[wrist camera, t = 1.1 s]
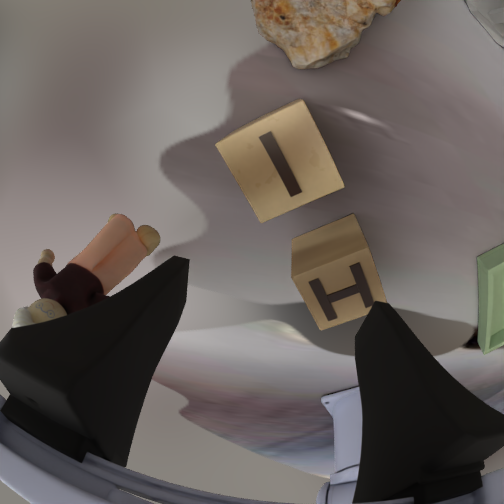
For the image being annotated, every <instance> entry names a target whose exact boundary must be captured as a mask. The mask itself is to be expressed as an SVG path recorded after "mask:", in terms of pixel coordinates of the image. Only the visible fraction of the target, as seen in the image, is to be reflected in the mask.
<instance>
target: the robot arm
mask: <svg viewBox="0 0 504 504" xmlns="http://www.w3.org/2000/svg"><path fill="white" fill-rule="evenodd" d="M189 261H190V259H186V258H182V257H178V256H173V257H171V258H170V259H168V260H167V261H165V262H164V263H162V264H161V265H160V266H158V267H157V268H155V269H154V270H152V271H151V272H150V273H148V274H147V275H145V276H144V277H142V278H141V279H139V280H138V281H136V282H135V283H133V284H131V285H130V286H128V287H126V288H125V289H123V290H121V291H120V292H118V293H116V294H114V295H112V296H111V297H109V298H107V299H105V300H102V301H100V302H98V303H96V304H94V305H92V306H89V307H87V308H84V309H82V310H79V311H76V312H74V313H71V314H69V315H66V316H62V317H59V318H56V319H52V320H49V321H45V322H41V323H37V324H31V325H26V326H21V327H15V328H11V329H10V331H9V332H8V333H7V334H6V336H5V337H4V338H3V339H2V340H1V342H0V380H1V382H2V383H3V384H4V386H5V387H6V388H7V390H8V391H9V393H10V395H9V397H8V399H7V400H6V399H5V398H4V397H2V396H1V395H0V480H1V481H2V482H3V483H5V484H6V485H7V486H8V487H10V488H11V489H12V490H13V491H15V492H16V493H17V494H19V495H20V496H21V497H23V498H24V499H26V500H27V501H28V502H30V503H31V504H154V503H151V502H149V501H146V500H143V499H141V498H139V497H136V496H134V495H137V496H140V497H143V498H146V499H149V500H152V501H155V502H158V503H162V504H292V503H278V502H268V501H258V500H250V499H244V498H237V497H231V496H225V495H220V494H214V493H210V492H205V491H200V490H196V489H192V488H188V487H184V486H180V485H177V484H173V483H169V482H166V481H163V480H159V479H156V478H153V477H150V476H147V475H144V474H141V473H138V472H135V471H132V470H130V469H127V468H125V467H126V465H127V460H128V456H129V452H130V448H131V444H132V440H133V436H134V433H135V428H136V425H137V422H138V418H139V415H140V412H141V409H142V406H143V402H144V399H145V396H146V393H147V390H148V388H149V385H150V382H151V379H152V376H153V374H154V372H155V369H156V367H157V365H158V363H159V361H160V359H161V357H162V355H163V353H164V351H165V349H166V347H167V345H168V343H169V341H170V339H171V337H172V335H173V333H174V331H175V329H176V327H177V325H178V323H179V320H180V317H181V314H182V311H183V309H184V306H185V303H186V297H187V284H188V272H189ZM355 361H356V368H357V376H358V383H359V387H356V388H352V389H349V390H345V391H342V392H338V393H334V394H330V395H326V396H323V397H322V398H321V402H322V403H323V404H324V406H325V407H326V409H327V410H328V411H329V413H330V414H331V415H332V417H333V419H334V451H335V473H334V474H330V482H326V483H324V485H323V486H322V487H321V489H320V490H319V492H318V495H317V500H316V504H504V469H503V468H501V469H499V470H496V471H493V472H490V473H487V474H485V475H483V476H481V473H480V470H483V469H484V467H485V465H484V460H485V459H487V458H488V457H489V456H491V455H492V454H494V453H495V452H496V451H498V450H499V449H500V448H502V447H503V446H504V414H502V413H500V412H499V411H497V410H495V409H494V408H492V407H490V406H489V405H487V404H486V403H484V402H483V401H482V400H480V399H479V398H477V397H476V396H475V395H473V394H472V393H471V392H470V391H468V390H467V389H466V388H465V387H464V386H462V385H461V384H460V383H459V382H458V381H457V380H456V379H455V378H453V377H452V376H451V375H450V374H449V373H448V372H447V371H446V370H445V369H444V368H443V367H442V366H441V365H440V364H439V362H438V361H437V360H436V359H435V358H434V357H433V356H432V355H431V354H430V352H429V351H428V350H427V349H426V348H425V347H424V345H423V344H422V343H421V342H420V341H419V339H418V338H417V337H416V336H415V334H414V333H413V332H412V331H411V329H410V328H409V327H408V326H407V324H406V323H405V322H404V321H403V319H402V318H401V317H400V316H399V314H398V313H397V312H396V311H395V310H394V309H393V307H392V306H391V305H390V304H389V303H385V302H380V301H375V302H374V304H373V305H372V307H371V309H370V311H369V313H368V315H367V317H366V318H365V320H364V322H363V324H362V326H361V327H360V329H359V331H358V332H357V334H356V336H355ZM120 489H121V490H120ZM122 490H123V491H122ZM124 491H126V492H124ZM127 492H129V493H132V494H134V495H132V494H129V493H127Z"/></svg>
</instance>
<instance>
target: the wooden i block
mask: <svg viewBox="0 0 504 504" xmlns="http://www.w3.org/2000/svg"><path fill="white" fill-rule="evenodd" d="M215 145H216V147H217V149H218V150H219V152H220V154H221V155H222V157H223V159H224V161H225V162H226V164H227V166H228V167H229V169H230V171H231V172H232V174H233V176H234V178H235V179H236V181H237V183H238V184H239V186H240V188H241V190H242V191H243V193H244V195H245V197H246V198H247V200H248V202H249V204H250V205H251V207H252V209H253V211H254V212H255V214H256V216H257V217H258V219H259V221H260V223H263V222H266V221H268V220H270V219H272V218H275V217H277V216H279V215H281V214H284V213H286V212H288V211H291V210H293V209H295V208H298V207H300V206H302V205H304V204H307V203H309V202H311V201H314V200H316V199H318V198H321V197H323V196H325V195H328V194H330V193H332V192H335V191H337V190H340V189H342V188H344V187H345V185H344V183H343V181H342V179H341V176H340V174H339V172H338V169H337V167H336V165H335V163H334V161H333V158H332V156H331V154H330V152H329V150H328V148H327V146H326V144H325V141H324V139H323V137H322V135H321V133H320V131H319V129H318V127H317V125H316V123H315V121H314V119H313V117H312V115H311V113H310V111H309V109H308V108H307V106H306V104H305V102H304V100H302V99H297V100H295V101H293V102H291V103H289V104H287V105H284V106H282V107H280V108H278V109H276V110H274V111H272V112H270V113H268V114H266V115H264V116H262V117H260V118H258V119H256V120H254V121H252V122H250V123H248V124H246V125H244V126H242V127H240V128H238V129H237V130H235V131H233V132H231V133H230V134H229V135H227V136H226V137H224V138H223V139H222V140H220V141H219V142H217V143H216V144H215Z"/></svg>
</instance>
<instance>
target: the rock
mask: <svg viewBox="0 0 504 504" xmlns="http://www.w3.org/2000/svg"><path fill="white" fill-rule="evenodd" d="M400 1H401V0H251V2H252V9H253V12H254V16H255V19H256V26H257V28H258V32H259V34H260V35H262V36H263V37H264V38H265V39H266V40H267V41H270V42H272V43H274V44H276V45H277V46H278V47H279V48H281V49H283V50H284V52H285V53H286V55H287V57H288V58H289V59H290V61H291V64H292V66H293V67H294V68H297V69H312V68H320V67H323V66H325V65H326V64H328V63H332V62H333V61H334V60H339V59H345V58H347V57H348V55H349V52H350V50H351V48H352V47H354V46H356V45H358V44H359V41H360V37H361V33H362V31H363V30H364V29H366V28H368V27H369V26H370V25H371V23H372V20H373V19H374V17H375V13H378V14H380V15H381V16H386V15H388V14H389V13H390V12H391V11H392V10H393V9H394V7H396V6H397V4H398V3H399V2H400Z"/></svg>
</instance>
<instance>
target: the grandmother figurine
mask: <svg viewBox="0 0 504 504" xmlns="http://www.w3.org/2000/svg"><path fill="white" fill-rule="evenodd" d="M159 243H160V235H159V233H158V232H157V231H156V230H155V229H154V228H152V227H150V226H148V225H142V226H140V227H139V228H138V229H137V231H135V228H134V225H133V223H132V221H131V220H130V219H128V218H127V217H126V216H125V215H122V214H113V215H111V216H110V218H109V220H108V223H107V224H106V225H105V227H104V228H103V229H102V230H101V231H100V232H99V233H98V234H97V235H96V237H95V238H94V239H93V240H92V241H91V242H90V243H89V244H88V246H87V247H86V248H85V249H84V250H83V251H82V252H81V253H79V254H78V255H77V256H76V257H75V258H73V259H72V260H71V261H70V262H69V263H68V264H67V265H66V267H65V268H64V269H63V270H61V271H60V272H59V273H58V274H56V272H55V271H54V269H53V267H52V263H53V262H54V259H55V256H54V253H53V252H52V251H51V250H50V249H46V250H44V251H42V253H41V259H40V260H39V262H38V264H37V265H36V266H35V268H34V270H33V271H34V272H33V273H34V283H35V286H36V289H37V292H38V293H39V295H40V297H41V299H39V300H37V301H35V302H34V303H33V304H31V306H30V307H24V308H20V309H18V310H17V312H16V313H15V316H14V320H13V328H15V327H21V326H26V325H31V324H37V323H41V322H45V321H49V320H52V319H56V318H59V317H62V316H66V315H69V314H71V313H74V312H76V311H79V310H82V309H84V308H87V307H89V306H92V305H94V304H96V303H98V302H100V301H102V300H105V299H107V298H109V296H106V295H107V294H108V293H109V292H110V290H112V289H113V288H114V287H115V286H116V285H118V284H119V283H120V282H121V281H122V280H123V279H124V278H125V277H127V276H128V275H129V274H130V273H131V272H132V271H133V270H134V269H135V268H136V267H137V266H138V264H139V263H140V262H141V260H143V259H144V258H145V257H146V256H148V255H150V254H151V253H152V252H153V251H154V249H155V248H156V247H157V246H158V245H159Z"/></svg>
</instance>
